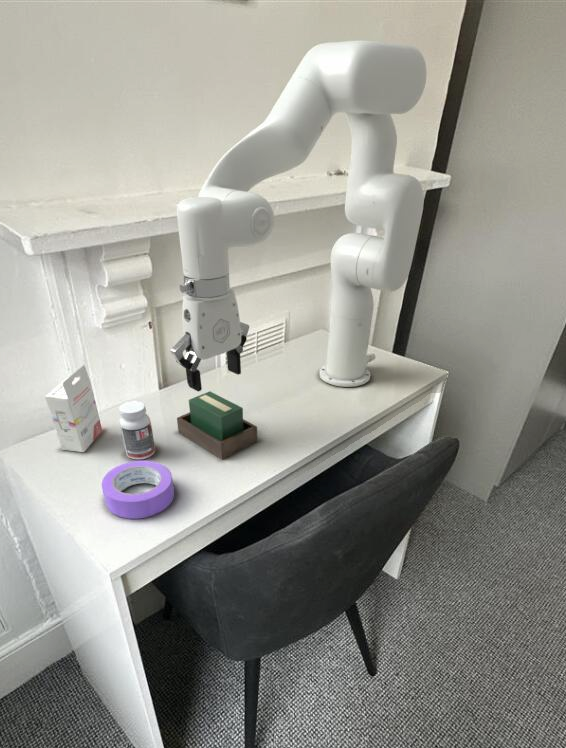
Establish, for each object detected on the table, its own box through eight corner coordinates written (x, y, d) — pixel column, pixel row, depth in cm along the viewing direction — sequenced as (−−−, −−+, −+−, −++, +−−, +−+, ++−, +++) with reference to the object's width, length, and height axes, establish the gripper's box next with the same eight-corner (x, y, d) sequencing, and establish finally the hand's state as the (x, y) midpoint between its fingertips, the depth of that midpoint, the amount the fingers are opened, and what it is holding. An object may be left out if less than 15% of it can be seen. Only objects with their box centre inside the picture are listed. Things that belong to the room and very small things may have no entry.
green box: (243, 439, 100) (242, 406, 95) (223, 449, 97) (221, 416, 92) (212, 421, 105) (209, 390, 101) (191, 430, 102) (188, 398, 98)
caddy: (213, 417, 108) (212, 402, 105) (257, 441, 100) (257, 426, 98) (178, 432, 103) (176, 417, 100) (222, 459, 95) (220, 444, 93)
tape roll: (188, 495, 86) (186, 478, 84) (133, 528, 80) (129, 510, 77) (146, 470, 92) (143, 452, 90) (92, 498, 86) (87, 480, 83)
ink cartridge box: (81, 428, 104) (63, 361, 94) (103, 431, 103) (87, 363, 94) (60, 450, 97) (38, 380, 88) (83, 453, 97) (64, 383, 87)
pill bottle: (161, 453, 97) (153, 407, 90) (135, 464, 94) (126, 417, 87) (146, 441, 100) (138, 396, 94) (120, 451, 97) (110, 406, 91)
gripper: (179, 302, 76) (191, 402, 87) (260, 278, 85) (261, 372, 96) (151, 291, 80) (166, 389, 91) (231, 270, 89) (236, 360, 100)
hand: (215, 380), depth 94 cm, fingers open, 9 cm apart
